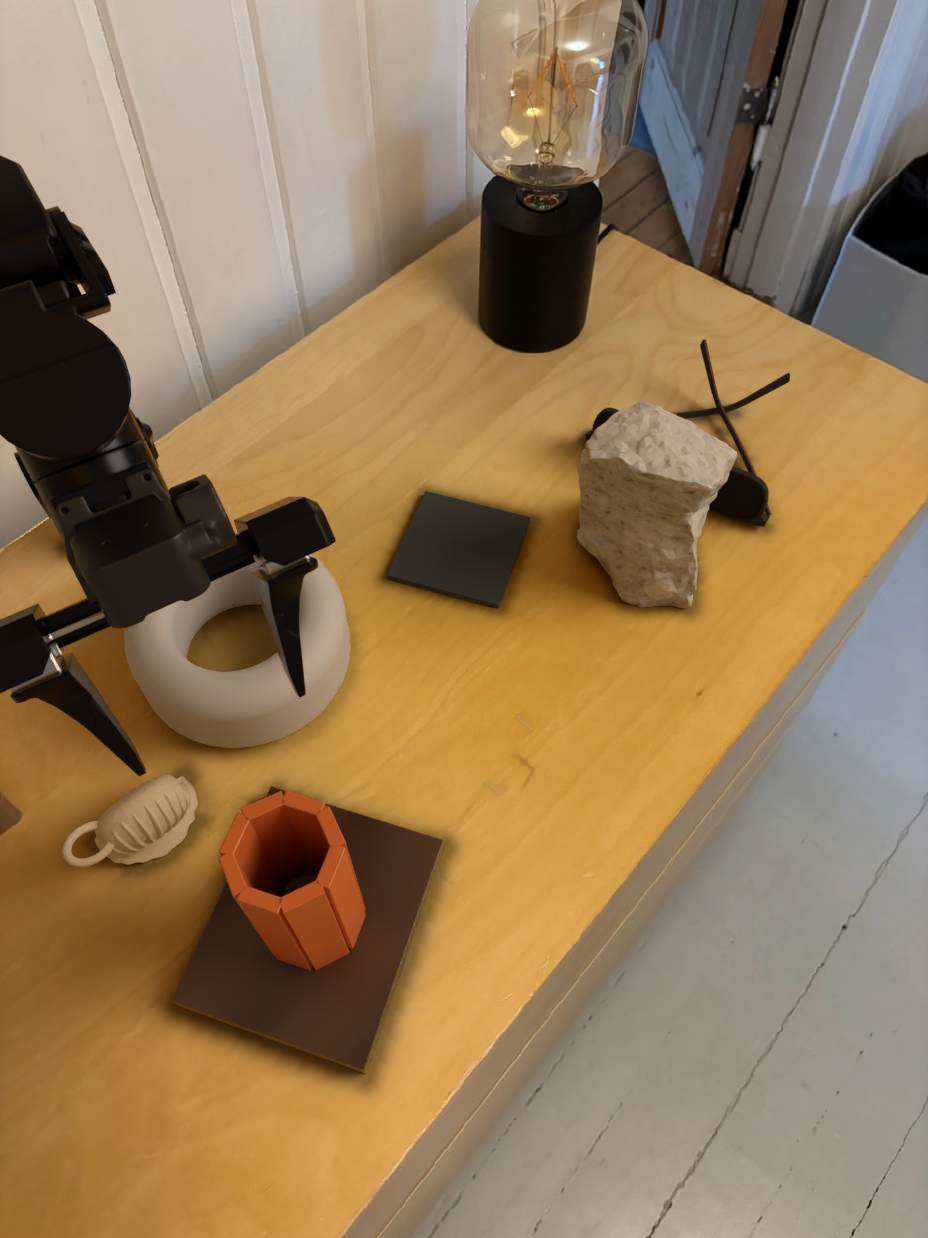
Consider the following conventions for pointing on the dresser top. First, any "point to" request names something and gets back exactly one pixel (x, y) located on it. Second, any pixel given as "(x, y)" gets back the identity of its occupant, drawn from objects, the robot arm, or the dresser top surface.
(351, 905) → the octagonal orange vase
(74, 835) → the decorative ornament
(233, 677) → the fat ring
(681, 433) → the decorative stone
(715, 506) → the sunglasses
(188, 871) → the dresser top surface
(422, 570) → the felt mat
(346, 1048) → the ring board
